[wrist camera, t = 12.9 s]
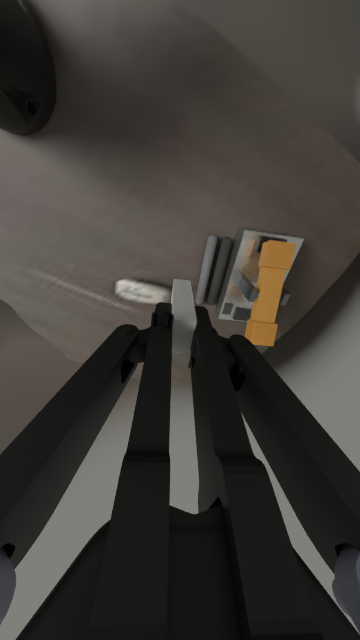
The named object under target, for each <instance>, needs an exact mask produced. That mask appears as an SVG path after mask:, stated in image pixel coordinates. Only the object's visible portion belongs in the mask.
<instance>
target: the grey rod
mask: <svg viewBox="0 0 360 640" xmlns="http://www.w3.org/2000/svg"><path fill="white" fill-rule="evenodd" d="M216 244H217V237H216V236H215V235H210V236H209V237H208V240H207V245H206V250H205V255H204V260H203V265H202V270H201V275H200V280H199V285H198V290H197V295H196V303H198V304H201V303H203V301H204V296H205V292H206V287H207V283H208V279H209V274H210V270H211V266H212V261H213V257H214V252H215V248H216Z"/></svg>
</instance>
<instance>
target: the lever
mask: <svg viewBox="0 0 360 640" xmlns="http://www.w3.org/2000/svg"><path fill="white" fill-rule="evenodd" d="M295 247H296V244H294V243H288V242H281V241H274V240H269V241H267V242H264V243H263V245H262V250H261V255H260V260H259V265H258V267H260V271H259V276H258V281H257V286H256V289H257V290H258V292H257V294H256V297H255V299H254V302H253V307H252V312H251V317H250V319H248V322H247V327H246V333H245V337H246V338H247V339H248V340H250V342H251V343H252V344H254V345H265V346H273V344H274V340H275V336H276V331H277V327H278V324H276V323H274V322H275V318H276V313H277V309H278V304H279V300H280V299H281V291H282V286H283V282H284V277H285V273H286V270H290V269H291V265H292V261H293V256H294V252H295Z"/></svg>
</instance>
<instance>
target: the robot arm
mask: <svg viewBox="0 0 360 640" xmlns="http://www.w3.org/2000/svg"><path fill="white" fill-rule="evenodd" d="M55 97H56V79H55V71H54V65H53V61H52V57H51V53H50V50H49V46H48V44H47V41H46V38H45V36H44V33H43V31H42V29H41V27H40V24H39V22H38V21H37V19H36V17H35V15H34V13H33V11H32V10H31V8H30V7H29V5H28V4H27V2H26V1H25V0H0V128H1V129H3V130H6V131H8V132H11V133H15V134H31V133H34V132H36V131H38V130H40V129H41V128H42V127H43V126H44V125H45V124H46V123H47V122H48V120H49V118H50V116H51V114H52V111H53V108H54V104H55ZM190 350H191V357H190V362H189V366H188V368H190V367H191V380H192V392H193V406H194V419H195V431H196V444H197V458H198V471H199V492H198V510H199V513H198V514H190V513H188V512H185V511H183V510H180V509H177V508H175V507H172V506H170V505H169V498H170V496H169V495H170V456H169V431H170V429H169V428H170V397H171V394H170V393H171V362H172V353H180V354H190ZM140 362H144V365H143V370H142V375H141V381H140V386H139V391H138V396H137V401H136V406H135V411H134V417H133V422H132V427H131V432H130V437H129V442H128V447H127V451H126V454H125V456H124V459H123V462H122V467H121V472H120V476H119V481H118V486H117V491H116V496H115V501H114V506H113V510H112V515H111V520H109V521H108V522H107V523H106V524H104V525H103V526H102V527H101V528H100V529H99V530H98V531H97V532H96V533H95V534H94V535H93V537H92V538H91V539H90V540H89V541H88V543H87V544H86V545H85V547H84V548H83V549H82V551H81V552H80V553H79V555H78V556H77V557H76V559H75V560H74V561H73V563H72V564H71V565H70V567H69V568H68V570H67V571H66V572H65V574H64V575H63V576H62V578H61V579H60V581H59V582H58V583H57V585H56V586H55V587H54V589H53V590H52V591H51V592H50V594H49V596H48V597H47V598H46V599H45V601H44V602H43V603H42V605H41V606H40V607H39V609H38V610H37V611H36V613H35V614H34V615H33V617H32V618H31V619H30V621H29V622H28V624H27V625H26V626H25V628H24V629H23V630H22V632H21V633H20V635H19V636H18V637H17V638H16V640H360V635H359V633H360V472H359V470H358V469H357V468H356V467H355V466H354V465H353V463H352V462H351V461H350V460H349V459H348V457H347V456H346V455H345V454H344V453H343V451H342V450H341V449H340V448H339V447H338V445H337V444H336V443H335V442H334V441H333V439H332V438H331V437H330V436H329V435H328V433H327V432H326V431H325V430H324V429H323V428H322V427H321V425H320V424H319V423H318V422H317V420H316V419H315V418H314V417H313V416H312V414H311V413H310V412H309V411H308V410H307V409H306V407H305V406H304V405H303V404H302V403H301V401H300V400H299V399H298V398H297V396H296V395H295V394H294V393H293V392H292V391H291V389H290V388H289V387H288V386H287V385H286V383H285V382H284V381H283V380H282V379H281V377H280V376H279V375H278V374H277V373H276V372H275V371H274V369H273V368H272V367H271V365H270V364H269V363H268V362H267V361H266V360H265V358H264V357H263V356H262V355H261V354H260V352H259V351H258V350H257V349H256V348H255V346H254V345H253V344H252V343H251V342H250V340H248V339H247V338H246V337H244V336H242V335H232V336H230V338H229V339H227V338H224V337H221V336H219V335H218V333H217V331H216V330H215V329H214V328H213V327H212V325H211V321H210V318H209V315H208V310H207V309H206V308H205V307H202V306H194V301H193V294H192V288H191V282H190V281H188V280H180V279H174V281H173V290H172V298H171V303H162V302H159V303H158V304H157V305H156V308H155V312H153V313H152V320H151V327H149V328H147V329H144V330H138V328H137V327H136V326H134V325H129V324H126V325H121V326H119V327H117V328H116V329H115V330H114V331H113V333H112V334H111V335H110V336H109V337H108V338H107V339H106V340H105V341H104V342H103V343H102V345H101V346H100V347H99V348H98V349H97V350H96V351H95V352H94V353H93V354H92V355H91V357H90V358H89V359H88V360H87V361H86V362H85V363H84V364H83V365H82V367H81V368H80V369H79V370H78V371H77V372H76V373H75V374H74V375H73V376H72V377H71V378H70V380H68V382H67V383H66V384H65V385H64V386H63V387H62V388H61V389H60V390H59V392H57V394H56V395H55V396H54V397H53V398H52V399H51V400H50V401H49V402H48V403H47V404H46V406H45V407H44V408H43V409H42V410H41V411H40V412H39V413H38V414H37V416H35V418H34V419H33V420H32V421H31V422H30V423H29V424H28V425H27V426H26V428H25V429H24V430H23V431H22V432H21V433H20V434H19V435H18V436H17V437H16V438H15V439H14V440H13V441H12V443H11V444H10V445H9V446H8V447H7V448H6V449H5V450H4V451H3V452H2V454H1V455H0V624H1V622H2V620H3V619H4V617H5V615H6V613H7V611H8V609H9V606H10V604H11V601H12V599H13V595H14V591H15V587H16V574H15V570H14V569H15V568H16V567H17V565H18V564H19V563H20V562H21V560H22V559H23V558H24V556H25V555H26V553H27V552H28V551H29V549H30V548H31V546H32V545H33V544H34V542H35V541H36V539H37V538H38V536H39V535H40V533H41V532H42V530H43V528H44V527H45V525H46V524H47V522H48V520H49V519H50V517H51V516H52V514H53V512H54V510H55V509H56V507H57V505H58V503H59V501H60V500H61V498H62V496H63V495H64V493H65V491H66V489H67V488H68V486H69V484H70V482H71V481H72V479H73V477H74V475H75V474H76V472H77V470H78V468H79V467H80V465H81V463H82V461H83V460H84V458H85V456H86V455H87V453H88V451H89V449H90V448H91V445H92V444H93V442H94V441H95V439H96V437H97V435H98V434H99V432H100V430H101V428H102V426H103V425H104V423H105V421H106V420H107V418H108V416H109V414H110V413H111V411H112V409H113V407H114V406H115V404H116V402H117V400H118V399H119V397H120V395H121V393H122V392H123V390H124V388H125V386H126V385H127V383H128V381H129V379H130V378H131V376H132V374H133V372H134V371H135V369H136V367H137V365H138V363H140ZM241 368H242V369H243V370H242V369H241ZM241 413H242V414H243V416H244V418H245V420H246V422H247V424H248V426H249V428H250V429H251V431H252V433H253V435H254V437H255V439H256V440H257V443H258V444H259V446H260V448H261V450H262V452H263V454H264V456H265V458H266V459H267V461H268V463H269V465H270V467H271V469H272V470H273V472H274V474H275V476H276V478H277V480H278V482H279V484H280V486H281V488H282V489H283V491H284V493H285V495H286V497H287V499H288V501H289V503H290V504H291V506H292V508H293V510H294V512H295V514H296V516H297V518H298V519H299V521H300V523H301V525H302V526H303V528H304V530H305V531H306V533H307V535H308V537H309V538H310V540H311V541H312V542H313V544H314V546H315V547H316V549H317V551H318V552H319V553H320V555H321V557H322V558H323V559H324V561H325V562H326V564H327V565H328V566H329V568H330V569H331V570H332V572H333V573H334V574H335V579H334V580H333V583H332V588H333V593H334V596H335V598H336V601H337V603H338V605H339V606H340V607H341V608H342V610H343V611H344V612H345V613H346V614H347V615H349V616H350V617H351V618H352V620H353V622H354V624H355V625H356V627H357V629H358V631H359V633H358V632H357V631H356V630H355V628H354V627H353V626H352V624H351V623H350V622H349V620H348V619H347V618H346V616H345V615H344V614H343V612H342V611H341V610H340V609H339V607H338V606H337V605H336V603H335V602H334V601H333V599H332V598H331V597H330V595H329V594H328V593H327V591H326V590H325V589H324V588H323V586H322V585H321V584H320V582H319V581H318V580H317V578H316V577H315V576H314V574H313V573H312V572H311V570H310V569H309V568H308V567H307V565H306V564H305V563H304V561H303V560H302V559H301V557H300V556H299V555H298V553H297V552H296V551H295V549H294V548H293V547H292V545H291V542H290V539H289V536H288V533H287V530H286V527H285V524H284V521H283V518H282V514H281V511H280V508H279V505H278V502H277V499H276V496H275V493H274V490H273V487H272V484H271V481H270V478H269V475H268V473H267V470H266V468H265V466H264V464H263V463H262V461H260V460H259V459H257V458H256V457H255V456H254V454H253V452H252V449H251V445H250V442H249V438H248V435H247V431H246V428H245V425H244V421H243V418H242V415H241Z"/></svg>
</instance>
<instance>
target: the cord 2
mask: <svg viewBox="0 0 360 640" xmlns="http://www.w3.org/2000/svg"><path fill="white" fill-rule="evenodd" d="M230 245H231V239H230V238H229V237H225V238H223V239H222V242H221V246H220V250H219V254H218V258H217V262H216V267H215V271H214V275H213V279H212V283H211V287H210V291H209V296H208V300H207V303H208V304H209V305H214V304H215V301H216V297H217V294H218V290H219V286H220V283H221V279H222V275H223V271H224V268H225V264H226V260H227V256H228V253H229V249H230Z"/></svg>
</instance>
